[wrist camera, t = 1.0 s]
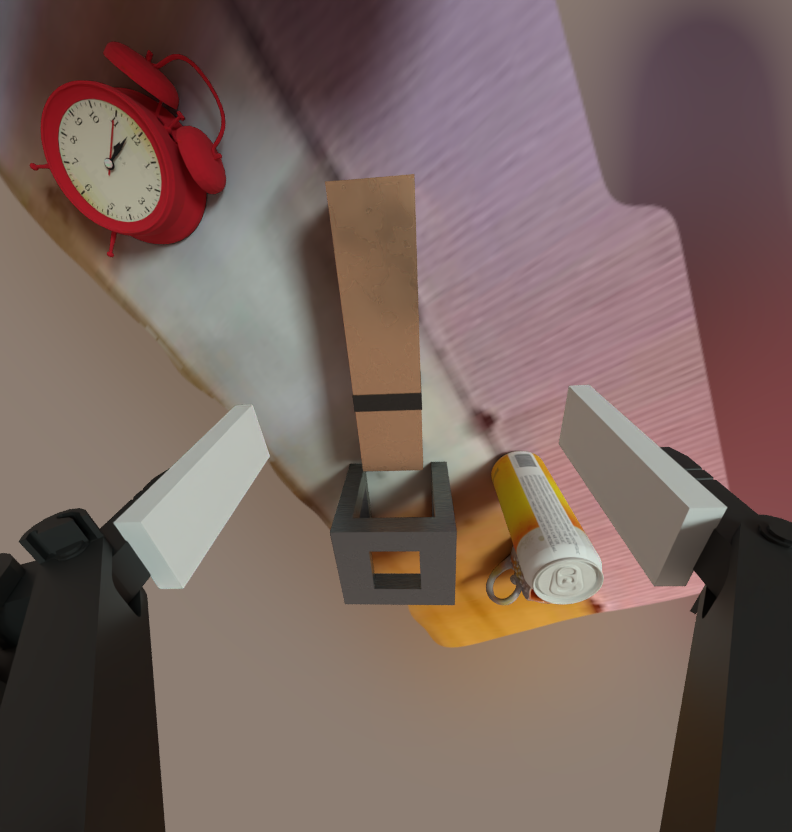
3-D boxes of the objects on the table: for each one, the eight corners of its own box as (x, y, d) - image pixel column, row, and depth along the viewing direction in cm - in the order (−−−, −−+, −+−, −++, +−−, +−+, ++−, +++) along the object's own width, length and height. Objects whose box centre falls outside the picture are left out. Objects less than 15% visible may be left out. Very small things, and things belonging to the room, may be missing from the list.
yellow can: (491, 491, 41) (528, 610, 28) (487, 451, 38) (526, 560, 25) (542, 485, 40) (606, 604, 27) (542, 443, 38) (612, 552, 24)
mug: (548, 517, 43) (569, 561, 37) (571, 549, 45) (594, 595, 39) (468, 554, 46) (475, 598, 40) (493, 581, 49) (503, 627, 43)
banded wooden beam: (341, 194, 28) (324, 181, 22) (414, 188, 27) (415, 173, 22) (369, 440, 39) (362, 471, 33) (422, 438, 38) (423, 470, 33)
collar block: (350, 464, 40) (329, 532, 31) (446, 461, 39) (456, 531, 30) (359, 527, 45) (345, 603, 35) (446, 526, 44) (454, 605, 34)
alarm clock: (-1, 147, 24) (71, -57, 17) (83, 155, 29) (166, -1, 22) (116, 277, 28) (214, 153, 21) (173, 264, 33) (268, 161, 26)
